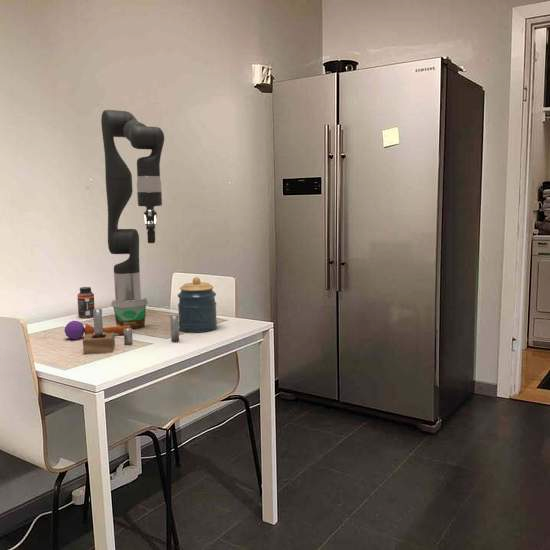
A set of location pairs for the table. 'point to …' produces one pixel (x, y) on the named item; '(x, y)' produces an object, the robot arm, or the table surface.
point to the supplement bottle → (85, 302)
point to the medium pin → (174, 328)
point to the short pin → (128, 336)
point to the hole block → (98, 343)
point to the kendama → (89, 329)
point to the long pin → (98, 323)
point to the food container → (130, 313)
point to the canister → (197, 307)
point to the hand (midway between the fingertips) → (151, 242)
